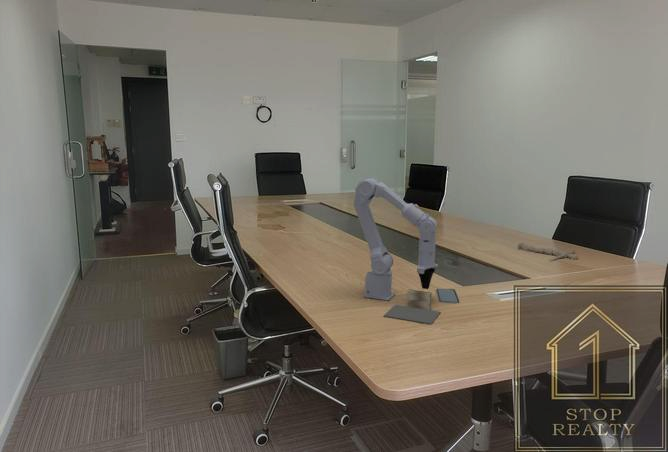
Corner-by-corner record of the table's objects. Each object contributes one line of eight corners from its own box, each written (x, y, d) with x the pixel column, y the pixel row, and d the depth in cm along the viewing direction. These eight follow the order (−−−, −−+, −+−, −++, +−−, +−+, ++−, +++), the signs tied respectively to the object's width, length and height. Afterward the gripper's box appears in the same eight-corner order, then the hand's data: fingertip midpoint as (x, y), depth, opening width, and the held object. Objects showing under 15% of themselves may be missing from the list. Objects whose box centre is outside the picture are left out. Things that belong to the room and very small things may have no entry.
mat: (383, 316, 164) (383, 315, 164) (395, 305, 175) (395, 304, 175) (431, 324, 158) (431, 323, 158) (440, 312, 168) (440, 311, 168)
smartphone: (439, 301, 179) (435, 288, 193) (439, 304, 179) (435, 290, 193) (460, 302, 178) (455, 289, 192) (460, 305, 178) (455, 291, 192)
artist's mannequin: (505, 254, 256) (563, 268, 234) (506, 246, 255) (564, 259, 233) (532, 245, 274) (588, 257, 252) (533, 238, 273) (590, 249, 251)
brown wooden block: (407, 307, 174) (407, 290, 173) (408, 305, 175) (408, 289, 174) (429, 310, 171) (430, 293, 170) (430, 309, 172) (431, 292, 171)
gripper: (432, 257, 168) (431, 295, 171) (443, 248, 181) (441, 284, 184) (412, 254, 171) (411, 292, 174) (424, 246, 184) (422, 281, 187)
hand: (425, 288), depth 179 cm, fingers closed
